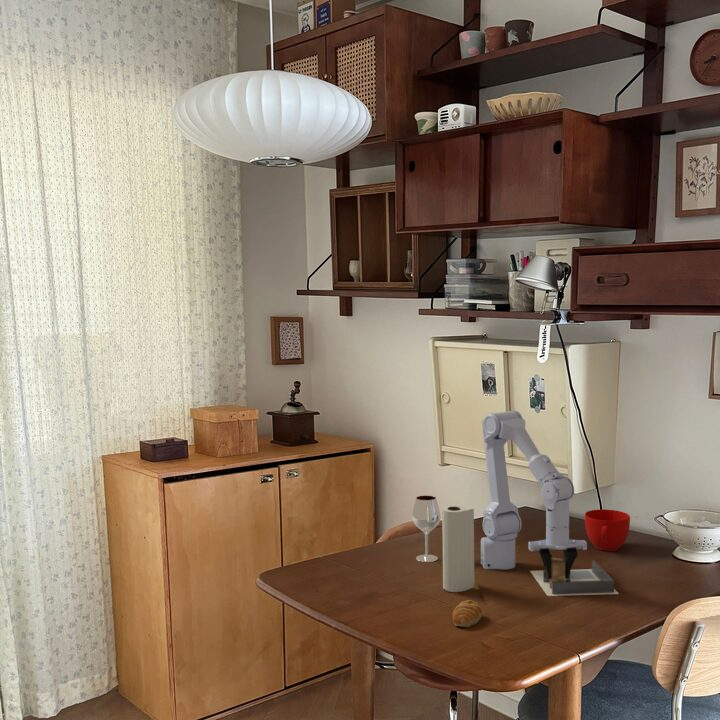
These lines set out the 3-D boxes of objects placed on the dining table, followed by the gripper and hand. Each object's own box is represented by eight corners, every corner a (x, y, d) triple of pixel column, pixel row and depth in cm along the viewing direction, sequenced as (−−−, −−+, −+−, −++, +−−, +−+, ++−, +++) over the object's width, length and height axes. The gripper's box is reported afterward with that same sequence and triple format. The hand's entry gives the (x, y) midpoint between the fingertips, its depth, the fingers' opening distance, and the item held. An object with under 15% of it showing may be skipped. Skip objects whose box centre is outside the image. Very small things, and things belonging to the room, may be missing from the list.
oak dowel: (551, 590, 206) (551, 563, 206) (547, 584, 210) (547, 558, 210) (567, 590, 206) (567, 563, 206) (563, 584, 210) (563, 558, 210)
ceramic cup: (580, 556, 236) (580, 522, 235) (587, 539, 252) (587, 507, 251) (627, 560, 231) (627, 526, 231) (631, 543, 247) (631, 511, 246)
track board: (547, 599, 203) (547, 595, 203) (530, 574, 221) (530, 570, 221) (618, 597, 203) (618, 593, 203) (595, 572, 222) (595, 568, 222)
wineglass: (446, 559, 235) (446, 498, 234) (424, 565, 230) (423, 502, 229) (428, 552, 242) (428, 493, 240) (407, 558, 237) (406, 497, 236)
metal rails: (552, 594, 204) (552, 582, 204) (536, 572, 220) (536, 561, 220) (614, 592, 204) (614, 580, 204) (594, 571, 220) (594, 560, 220)
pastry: (475, 631, 185) (474, 615, 185) (446, 627, 188) (446, 611, 187) (484, 616, 194) (484, 600, 194) (456, 612, 196) (456, 597, 196)
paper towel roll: (438, 589, 211) (437, 509, 209) (450, 583, 216) (449, 503, 214) (462, 595, 207) (462, 513, 205) (474, 588, 212) (473, 507, 210)
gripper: (533, 530, 203) (533, 583, 204) (590, 528, 203) (590, 581, 204) (526, 522, 210) (526, 573, 211) (582, 521, 210) (582, 572, 211)
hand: (557, 577), depth 208 cm, fingers closed on oak dowel, 4 cm apart
